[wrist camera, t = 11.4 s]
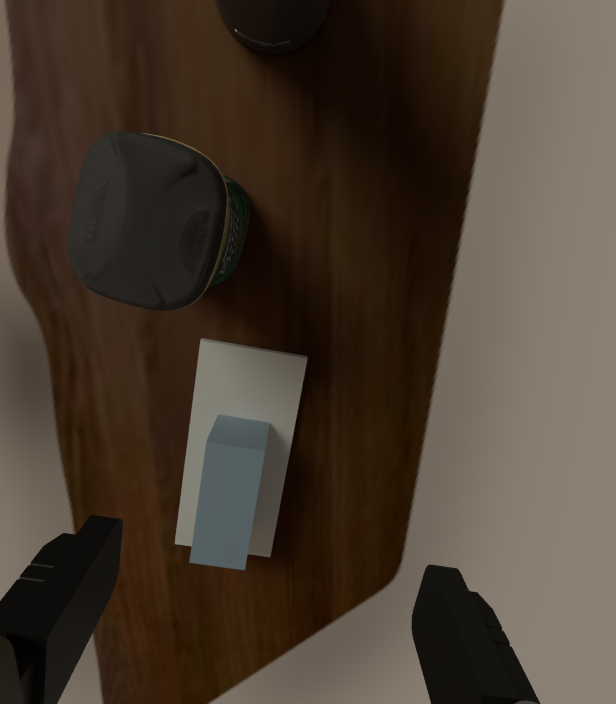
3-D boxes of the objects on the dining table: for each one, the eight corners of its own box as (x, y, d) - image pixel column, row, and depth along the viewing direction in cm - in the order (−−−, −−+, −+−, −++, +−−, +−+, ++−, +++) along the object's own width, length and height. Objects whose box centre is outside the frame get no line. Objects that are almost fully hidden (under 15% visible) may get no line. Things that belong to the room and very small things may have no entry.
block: (218, 414, 45) (206, 441, 39) (269, 422, 45) (265, 450, 39) (202, 522, 48) (189, 562, 42) (251, 529, 48) (244, 570, 42)
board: (202, 338, 44) (194, 346, 41) (307, 356, 44) (308, 365, 41) (176, 538, 49) (168, 560, 46) (270, 552, 50) (268, 574, 47)
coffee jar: (234, 293, 43) (188, 338, 25) (149, 267, 42) (38, 295, 24) (263, 186, 41) (235, 151, 23) (173, 157, 40) (70, 98, 22)
